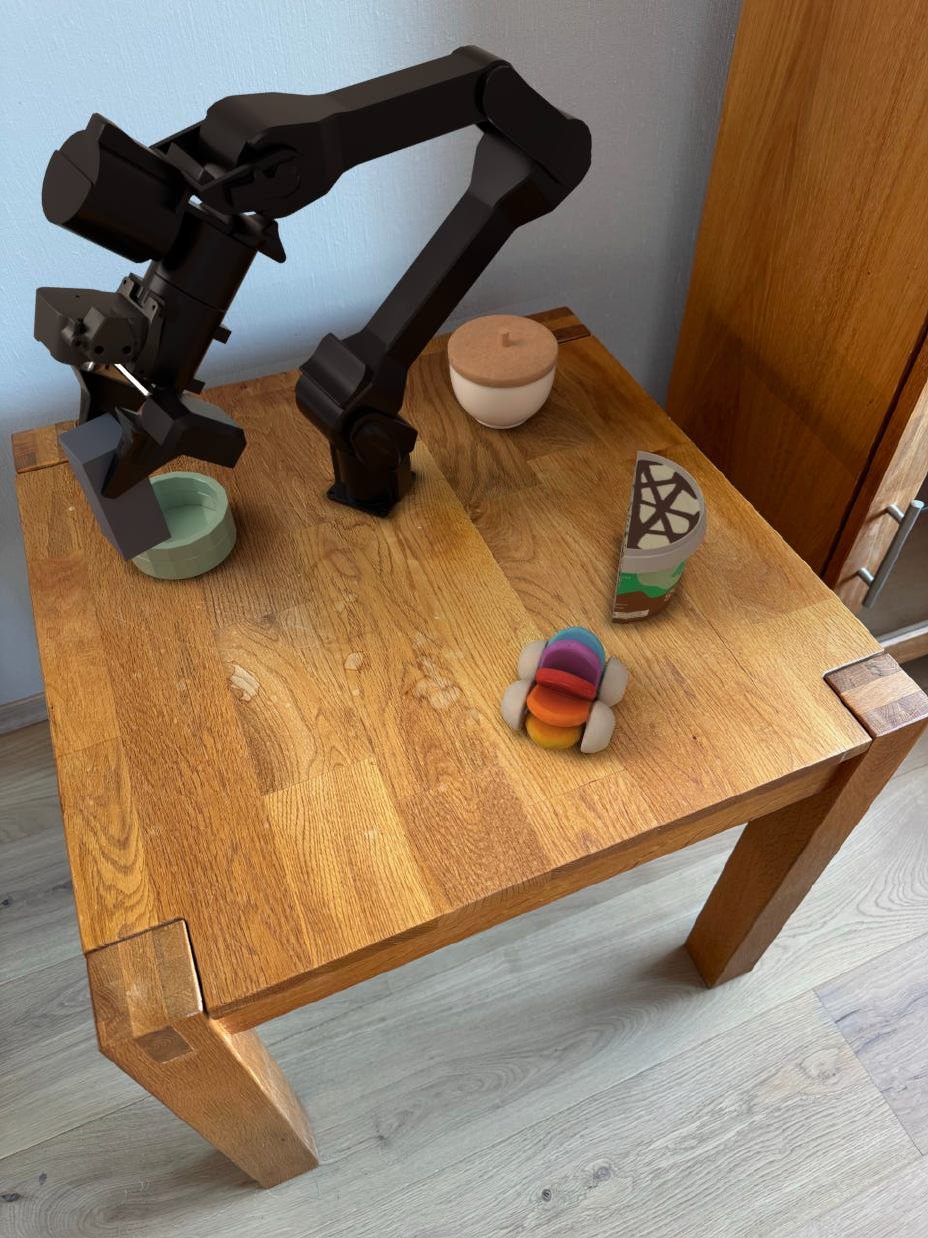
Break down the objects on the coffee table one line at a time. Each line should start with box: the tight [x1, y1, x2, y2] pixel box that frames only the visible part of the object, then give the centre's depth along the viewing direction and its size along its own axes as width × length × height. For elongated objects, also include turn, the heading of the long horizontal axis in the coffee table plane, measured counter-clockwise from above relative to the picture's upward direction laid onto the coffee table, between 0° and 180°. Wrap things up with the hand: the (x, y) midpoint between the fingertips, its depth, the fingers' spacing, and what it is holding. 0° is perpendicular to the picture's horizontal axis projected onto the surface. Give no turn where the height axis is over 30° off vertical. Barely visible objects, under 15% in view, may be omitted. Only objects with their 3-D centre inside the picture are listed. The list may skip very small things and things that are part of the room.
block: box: [57, 412, 172, 562], centre depth 69 cm, size 4×4×10 cm
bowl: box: [131, 470, 238, 581], centre depth 82 cm, size 10×10×4 cm
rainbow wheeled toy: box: [500, 625, 630, 754], centre depth 68 cm, size 8×10×7 cm
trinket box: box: [447, 314, 559, 430], centre depth 91 cm, size 11×11×9 cm
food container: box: [610, 450, 708, 625], centre depth 75 cm, size 12×6×10 cm, turn 168°
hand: (93, 481), depth 67 cm, fingers closed on block, 4 cm apart
